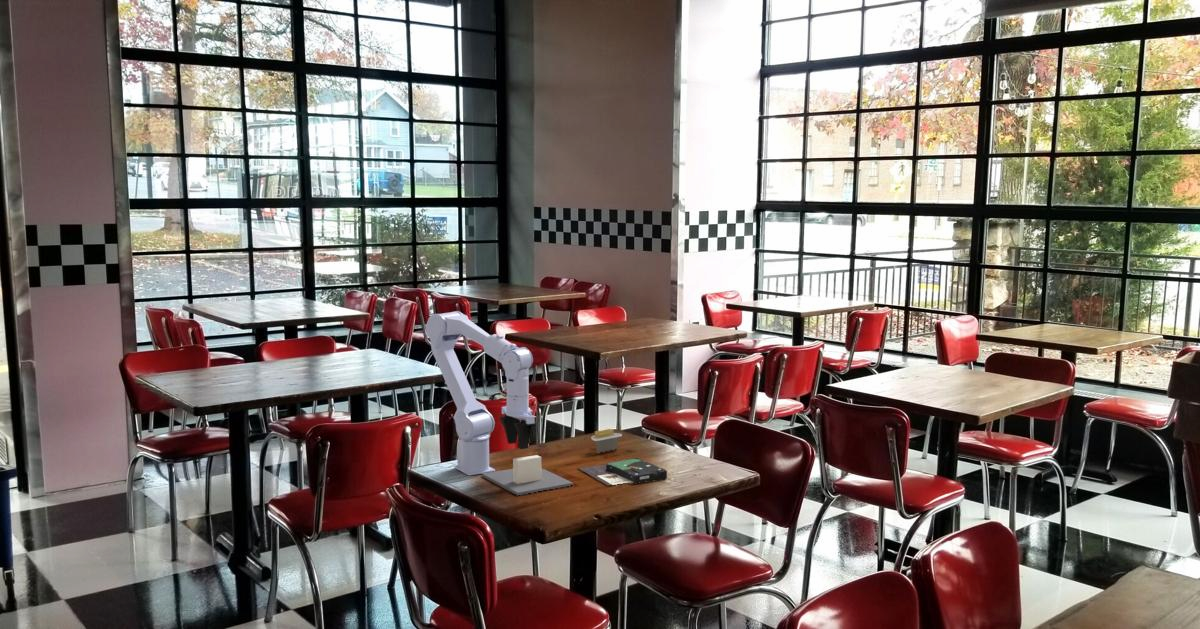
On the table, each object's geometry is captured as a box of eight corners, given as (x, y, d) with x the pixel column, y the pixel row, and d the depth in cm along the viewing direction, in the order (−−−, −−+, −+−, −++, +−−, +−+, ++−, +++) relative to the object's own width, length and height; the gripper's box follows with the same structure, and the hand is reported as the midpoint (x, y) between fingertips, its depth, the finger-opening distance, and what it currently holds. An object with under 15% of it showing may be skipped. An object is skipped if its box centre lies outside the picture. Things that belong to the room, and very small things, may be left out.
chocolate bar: (607, 464, 268) (638, 480, 252) (607, 467, 268) (638, 484, 252) (577, 468, 264) (607, 485, 248) (577, 471, 264) (607, 489, 248)
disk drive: (667, 480, 256) (636, 466, 268) (668, 470, 255) (636, 456, 268) (635, 486, 250) (604, 472, 263) (635, 475, 250) (604, 461, 263)
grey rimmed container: (568, 453, 283) (568, 431, 282) (616, 443, 294) (616, 422, 293) (593, 461, 274) (593, 439, 273) (641, 451, 285) (641, 429, 284)
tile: (513, 481, 250) (513, 458, 249) (536, 477, 253) (536, 455, 253) (517, 483, 247) (517, 460, 247) (541, 479, 251) (541, 457, 251)
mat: (482, 476, 257) (482, 473, 257) (535, 467, 265) (535, 464, 265) (517, 495, 240) (517, 492, 240) (573, 485, 249) (573, 482, 249)
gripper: (544, 397, 248) (544, 449, 250) (518, 388, 260) (518, 438, 262) (520, 400, 244) (520, 453, 246) (494, 391, 256) (494, 441, 258)
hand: (517, 445), depth 254 cm, fingers open, 6 cm apart
